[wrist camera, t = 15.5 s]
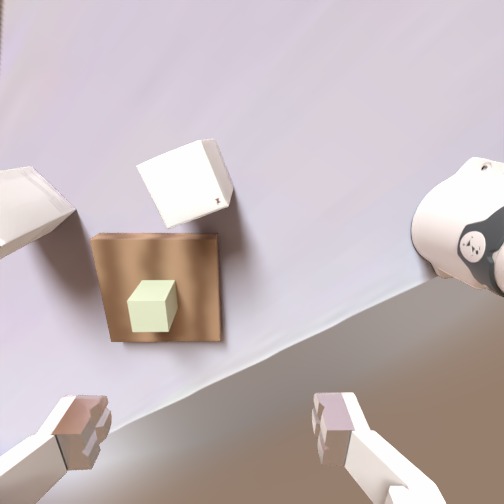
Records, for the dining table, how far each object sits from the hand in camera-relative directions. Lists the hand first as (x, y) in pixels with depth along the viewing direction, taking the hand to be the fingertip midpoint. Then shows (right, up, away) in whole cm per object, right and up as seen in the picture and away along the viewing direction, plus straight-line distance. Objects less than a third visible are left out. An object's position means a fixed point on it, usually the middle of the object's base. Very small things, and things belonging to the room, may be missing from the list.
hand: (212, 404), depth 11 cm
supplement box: (-6, +17, +30) cm, 35 cm away
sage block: (-13, -1, +33) cm, 36 cm away
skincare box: (-29, +14, +31) cm, 44 cm away
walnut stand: (-13, +1, +36) cm, 38 cm away
